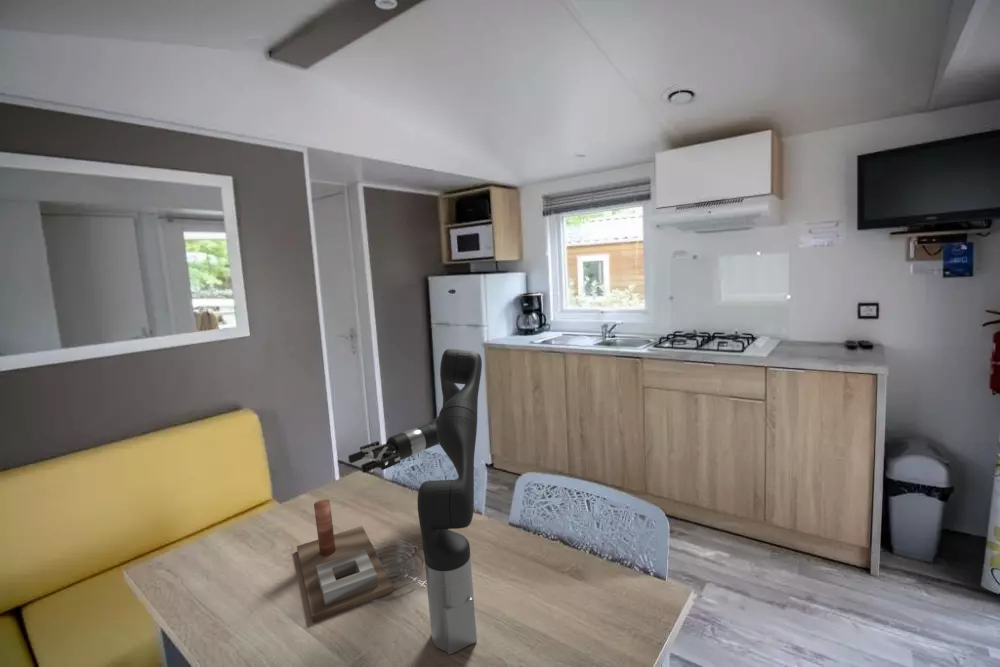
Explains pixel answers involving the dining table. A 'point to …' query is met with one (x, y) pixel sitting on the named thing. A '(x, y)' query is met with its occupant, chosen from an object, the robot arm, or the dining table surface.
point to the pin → (324, 527)
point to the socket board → (341, 550)
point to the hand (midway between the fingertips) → (355, 464)
